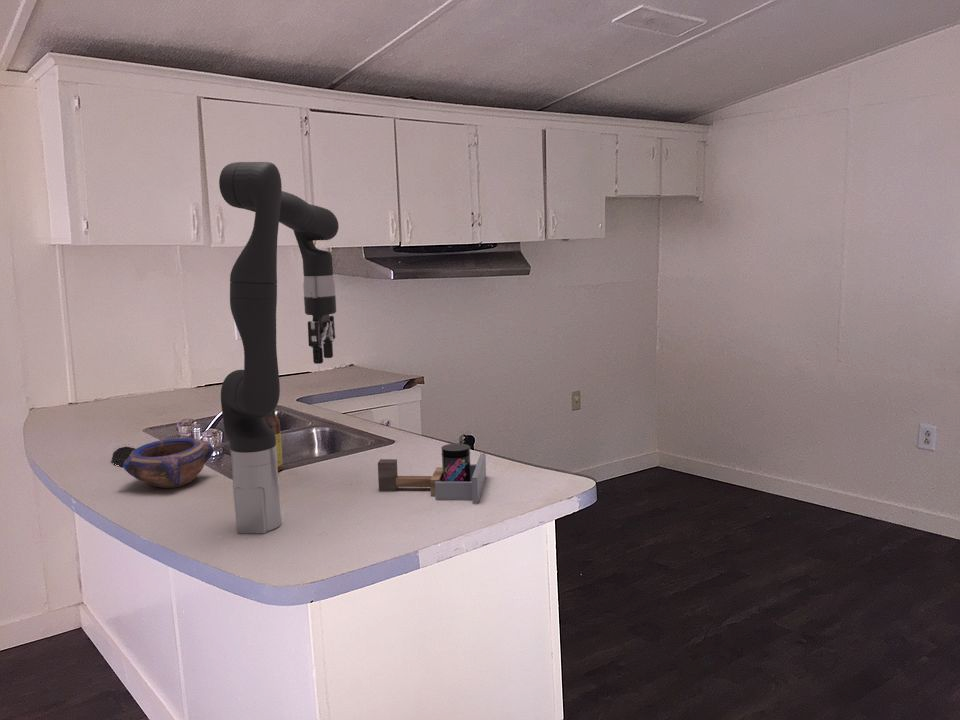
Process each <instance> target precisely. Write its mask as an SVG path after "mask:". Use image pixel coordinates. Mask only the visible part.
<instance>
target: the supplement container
mask: <svg viewBox="0 0 960 720" xmlns="http://www.w3.org/2000/svg"><path fill="white" fill-rule="evenodd" d="M440 448H441V450H440V451H441V467H442V474H443V482H472V481H471V471H470V464H471V446H470V445H468V444H466V443H447V444H444V445H442V446H441V447H440Z"/></svg>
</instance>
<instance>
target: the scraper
mask: <svg viewBox="0 0 960 720" xmlns="http://www.w3.org/2000/svg"><path fill="white" fill-rule="evenodd" d="M377 475H378V476H377V477H378V478H377V480H378V481H377V482H378V492H396V491H397V490H398V488H430V497H435V482H443V474H442V466H441V467H440V466H439V467H436V468H435V470H434V472H433V474H432V475H398V459H397V458H396V459H395V458H394V459H392V458H387V459H384V458H383V459H382V458H381V459H379V460H378V462H377Z"/></svg>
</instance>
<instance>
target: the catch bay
mask: <svg viewBox="0 0 960 720" xmlns="http://www.w3.org/2000/svg"><path fill="white" fill-rule="evenodd" d="M486 460H487V459H486V453H480V454H479V457H478V460H477V463H474V464H473V463H470V471H471V482H435V496H434V497H435V500H436V501H439V499H440V501H458V500H459V501H463V500H464V501H472V504H473V503H478V504H479V502H478V501H480V498H481V496H482V495H481V494H482V492H481V491H483V489H484V485H485V482H486V478H487V463H486ZM482 488H483V489H482ZM442 499H443V500H442ZM468 499H469V500H468ZM471 499H472V500H471Z"/></svg>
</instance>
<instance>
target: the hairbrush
mask: <svg viewBox="0 0 960 720" xmlns="http://www.w3.org/2000/svg"><path fill="white" fill-rule="evenodd" d="M132 446H133V447H132ZM116 447H118V448H117V449H116V448H115V447H114V451H113V452H112V457H111V463H112V464H113V463H114V464H116V465H119V466H120V467H123V462H124V461H125V460H126V459H127V458H128V457H129V456H130V454H131V453H132V451H134V450H135V449H136V448H135V447H134V445H131V446H130V444H128V446H127V445H126V443H125V444H124V445H123V446H121V447H119V445H118V446H116ZM116 461H117V462H116ZM114 464H113V465H114ZM116 465H115V466H116ZM119 466H118V467H119Z"/></svg>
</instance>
